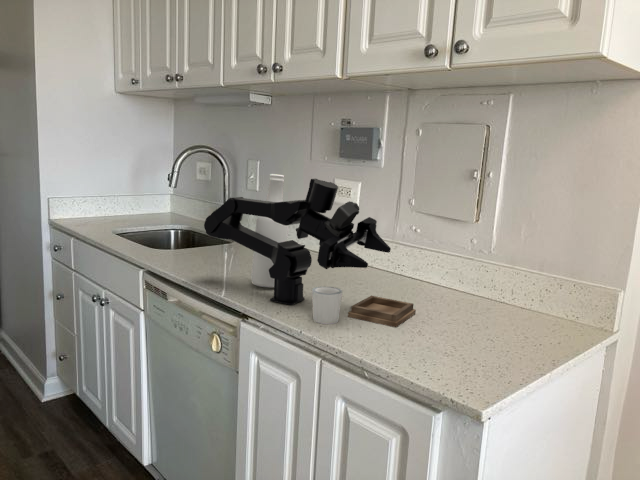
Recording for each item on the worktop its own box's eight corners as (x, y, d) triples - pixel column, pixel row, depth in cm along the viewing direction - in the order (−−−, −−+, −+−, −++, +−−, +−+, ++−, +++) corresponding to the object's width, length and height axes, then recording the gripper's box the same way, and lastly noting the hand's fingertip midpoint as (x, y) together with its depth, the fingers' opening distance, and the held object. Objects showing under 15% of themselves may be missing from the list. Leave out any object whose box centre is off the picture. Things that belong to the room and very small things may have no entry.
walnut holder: (347, 316, 122) (348, 306, 122) (369, 304, 132) (370, 294, 132) (396, 327, 116) (397, 316, 116) (415, 313, 126) (416, 303, 126)
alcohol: (288, 287, 143) (299, 176, 140) (257, 287, 139) (268, 173, 136) (275, 281, 151) (285, 176, 148) (246, 281, 147) (256, 172, 144)
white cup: (323, 313, 124) (324, 284, 123) (347, 320, 120) (348, 290, 118) (304, 319, 119) (305, 289, 117) (328, 327, 114) (329, 296, 113)
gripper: (302, 210, 113) (361, 241, 105) (352, 187, 126) (408, 213, 118) (296, 253, 118) (352, 286, 111) (345, 227, 132) (398, 254, 124)
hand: (379, 257), depth 116 cm, fingers open, 9 cm apart
